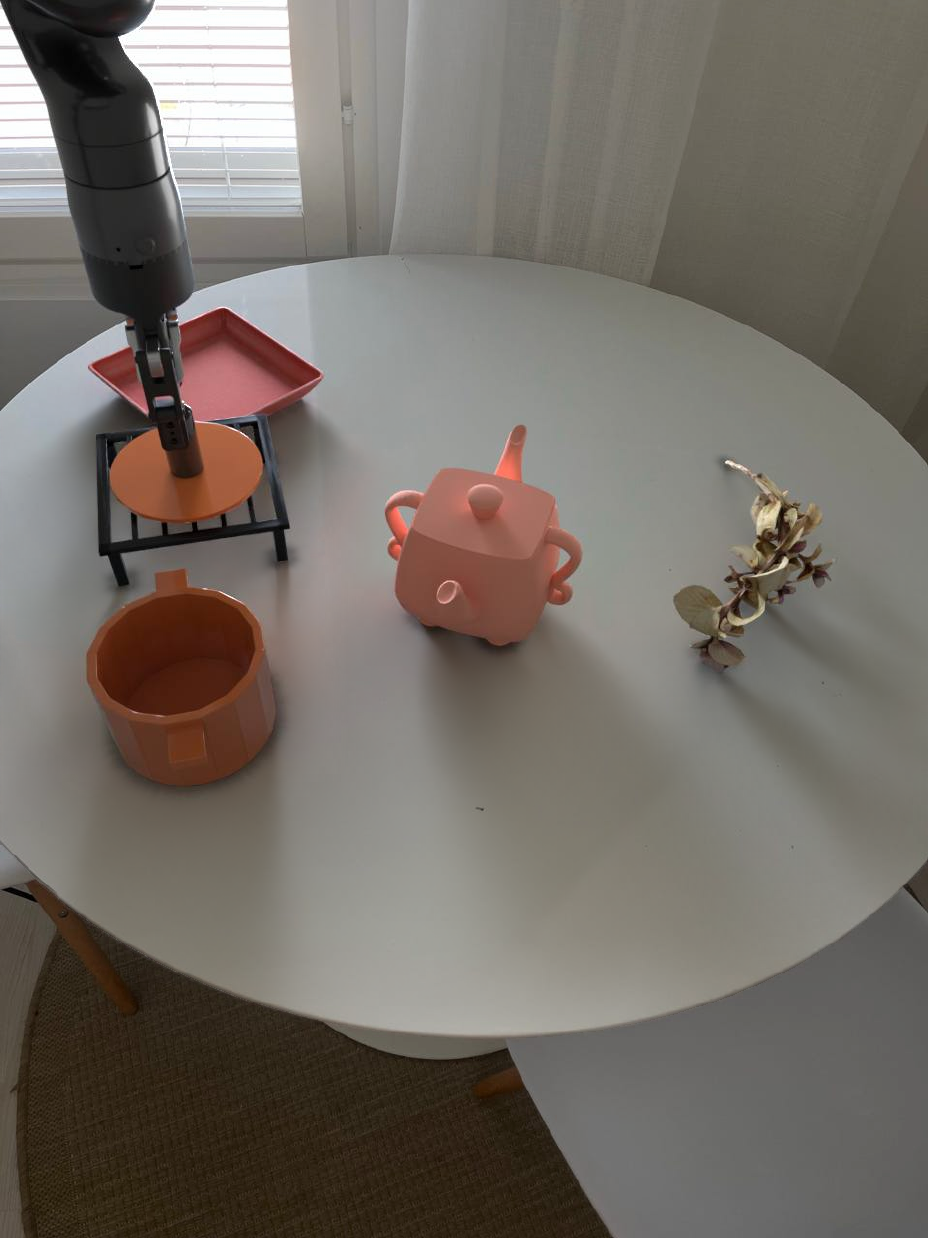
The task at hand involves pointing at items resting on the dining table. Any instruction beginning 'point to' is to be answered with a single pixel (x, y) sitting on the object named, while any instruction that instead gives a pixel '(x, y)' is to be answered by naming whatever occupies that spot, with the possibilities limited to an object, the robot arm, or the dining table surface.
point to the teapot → (481, 550)
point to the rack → (115, 549)
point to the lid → (187, 474)
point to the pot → (183, 683)
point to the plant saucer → (221, 370)
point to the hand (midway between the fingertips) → (173, 416)
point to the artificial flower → (725, 619)
